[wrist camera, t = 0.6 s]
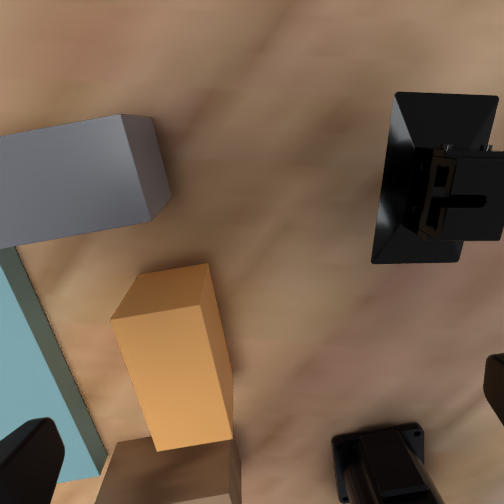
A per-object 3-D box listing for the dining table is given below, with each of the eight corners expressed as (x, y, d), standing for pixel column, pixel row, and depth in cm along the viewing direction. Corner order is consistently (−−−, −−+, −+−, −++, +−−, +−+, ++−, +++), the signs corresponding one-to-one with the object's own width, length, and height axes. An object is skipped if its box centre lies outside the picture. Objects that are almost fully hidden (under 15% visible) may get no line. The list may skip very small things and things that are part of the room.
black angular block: (379, 56, 17) (429, 33, 12) (521, 61, 17) (617, 39, 13) (349, 285, 21) (379, 326, 17) (463, 284, 21) (521, 324, 17)
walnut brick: (229, 420, 24) (228, 493, 19) (240, 461, 25) (242, 538, 20) (117, 441, 24) (89, 517, 19) (134, 480, 25) (112, 560, 21)
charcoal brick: (151, 117, 17) (120, 113, 12) (172, 196, 18) (151, 221, 13) (-7, 146, 17) (-100, 154, 12) (26, 223, 18) (-46, 257, 14)
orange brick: (232, 373, 22) (232, 438, 18) (172, 383, 22) (157, 451, 18) (207, 262, 20) (199, 304, 15) (139, 273, 20) (109, 320, 15)
